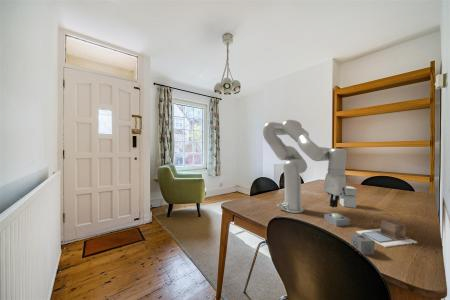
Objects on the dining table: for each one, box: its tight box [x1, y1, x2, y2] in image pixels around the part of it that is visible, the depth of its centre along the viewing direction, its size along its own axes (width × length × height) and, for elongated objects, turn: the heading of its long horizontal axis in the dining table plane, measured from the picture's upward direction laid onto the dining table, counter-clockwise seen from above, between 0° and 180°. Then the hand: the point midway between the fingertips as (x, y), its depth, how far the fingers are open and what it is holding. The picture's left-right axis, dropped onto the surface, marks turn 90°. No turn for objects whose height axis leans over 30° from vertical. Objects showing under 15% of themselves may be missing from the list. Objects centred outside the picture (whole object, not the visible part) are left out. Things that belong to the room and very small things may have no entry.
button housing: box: [323, 213, 351, 227], centre depth 89 cm, size 8×8×3 cm
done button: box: [331, 212, 343, 219], centre depth 89 cm, size 4×4×4 cm
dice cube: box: [350, 233, 376, 255], centre depth 65 cm, size 5×5×5 cm
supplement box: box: [339, 185, 357, 209], centre depth 115 cm, size 7×7×13 cm
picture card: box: [355, 228, 418, 248], centre depth 74 cm, size 16×12×1 cm
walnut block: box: [380, 219, 407, 239], centre depth 74 cm, size 6×6×6 cm
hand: (333, 206), depth 90 cm, fingers closed
